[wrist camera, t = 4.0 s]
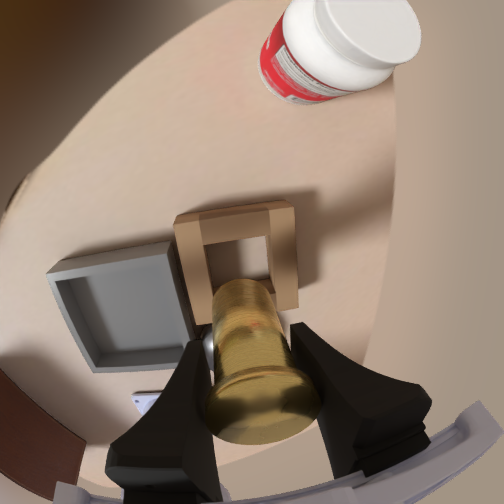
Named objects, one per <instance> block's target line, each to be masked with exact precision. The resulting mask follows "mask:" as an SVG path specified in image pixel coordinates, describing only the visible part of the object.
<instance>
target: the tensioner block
mask: <svg viewBox="0 0 504 504" xmlns="http://www.w3.org/2000/svg"><path fill="white" fill-rule="evenodd" d="M173 227H174V232H175V237H176V242H177V247H178V251H179V256H180V260H181V265H182V269H183V273H184V278H185V282H186V286H187V290H188V294H189V298H190V302H191V306H192V310H193V314H194V318H195V322H196V325H201V324H208V323H212V300H213V297H214V295H215V293H216V291H217V290H218V289H219V288H220V287H215V288H213V283H212V278H211V273H210V268H209V262H208V257H207V251H206V246H205V245H207V244H213V243H220V242H226V241H232V240H239V239H245V238H252V237H258V236H266V246H267V257H268V268H269V279H264V280H258V281H257V282H259V283H261V284H262V285H263V286H264V287H265V288H266V289H267V290H268V292H269V294H270V297H271V299H272V302H273V305H274V307H275V310H276V312H279V311H285V310H290V309H295V308H299V305H298V274H297V251H296V232H295V215H294V207H293V206H292V205H291V204H290V203H288V202H287V201H286V200H279V201H271V202H263V203H256V204H249V205H242V206H235V207H228V208H221V209H215V210H208V211H202V212H196V213H190V214H184V215H178V216H177V217H176V219H175V221H174V224H173Z"/></svg>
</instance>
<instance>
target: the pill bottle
mask: <svg viewBox="0 0 504 504" xmlns="http://www.w3.org/2000/svg"><path fill="white" fill-rule="evenodd" d="M420 45H421V29H420V25H419V22H418V19H417V17H416V15H415V13H414V11H413V9H412V8H411V6H410V5H409V4H408V2H407V1H406V0H293V1H292V2H291V3H290V4H289V6H288V7H287V8H286V10H285V11H284V13H283V15H282V16H281V18H280V19H279V21H278V22H277V24H276V25H275V27H274V29H273V30H272V32H271V33H270V35H269V37H268V38H267V40H266V41H265V43H264V45H263V47H262V49H261V51H260V53H259V57H258V70H259V74H260V77H261V79H262V81H263V83H264V84H265V86H266V87H267V88H268V89H269V90H270V91H271V92H272V93H273V94H274V95H275V96H277V97H278V98H280V99H282V100H284V101H286V102H288V103H292V104H296V105H312V104H317V103H321V102H324V101H327V100H330V99H333V98H336V97H340V96H343V95H347V94H351V93H354V92H358V91H363V90H366V89H370V88H372V87H375V86H377V85H379V84H380V83H382V82H383V81H385V80H386V79H387V78H388V77H389V76H390V75H391V73H392V72H393V70H394V68H395V66H396V65H399V64H402V63H405V62H408V61H410V60H411V59H412V58H414V57H415V56H416V54H417V53H418V51H419V48H420Z"/></svg>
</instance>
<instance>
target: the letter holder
mask: <svg viewBox="0 0 504 504" xmlns="http://www.w3.org/2000/svg"><path fill="white" fill-rule="evenodd" d="M85 447H86V441H85V440H83V439H81V438H80V437H78V436H77V435H76V434H74V433H73V432H71V431H70V430H69V429H67V428H66V427H64V426H63V425H62V424H60V423H59V422H58V421H57V420H55V419H54V418H53V417H51V416H50V415H49V414H48V413H47V412H45V411H44V410H43V409H42V408H41V407H39V406H38V405H37V404H36V403H35V402H34V401H33V400H32V399H30V398H29V397H28V396H27V395H26V394H25V393H24V392H23V391H22V390H21V389H20V388H19V387H18V386H17V385H16V384H15V383H13V382H12V381H11V380H10V378H9V377H8V376H7V375H6V374H5V373H4V372H3V371H2V370H1V369H0V473H2V474H3V475H4V476H6V477H7V478H9V479H10V480H12V481H13V482H15V483H16V484H18V485H19V486H21V487H23V488H25V489H26V490H28V491H31V492H32V493H34V494H36V495H38V496H41V497H43V498H45V499H48V500H50V501H53V499H54V493H55V488H56V483H57V482H58V481H59V482H63V483H67V484H71V485H75V486H76V485H77V480H78V476H79V471H80V466H81V462H82V458H83V454H84V451H85Z"/></svg>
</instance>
